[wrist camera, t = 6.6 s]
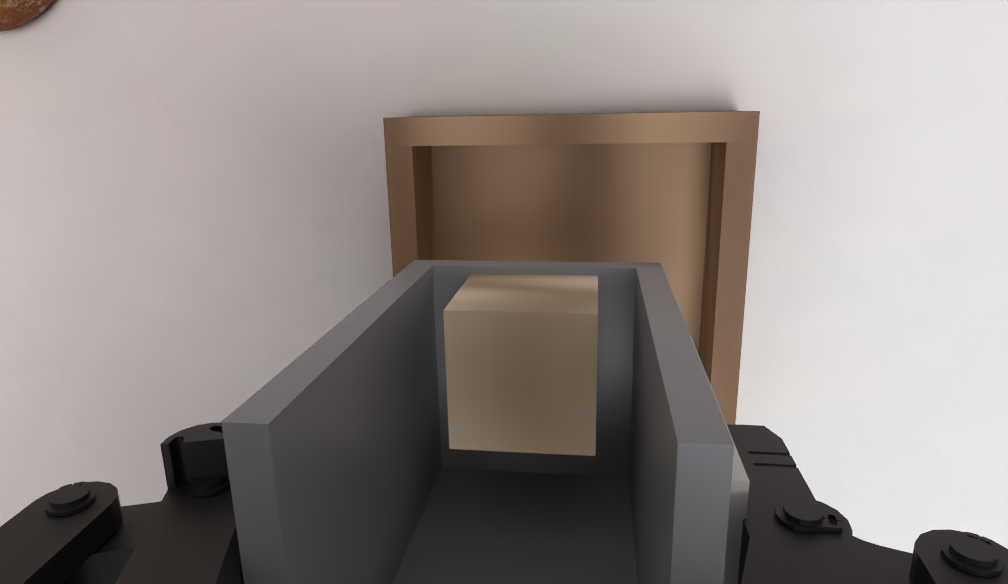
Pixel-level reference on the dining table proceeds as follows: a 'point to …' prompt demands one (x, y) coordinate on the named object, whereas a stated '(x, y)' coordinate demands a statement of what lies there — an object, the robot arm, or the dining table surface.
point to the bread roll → (20, 12)
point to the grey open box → (481, 454)
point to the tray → (590, 204)
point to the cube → (523, 364)
